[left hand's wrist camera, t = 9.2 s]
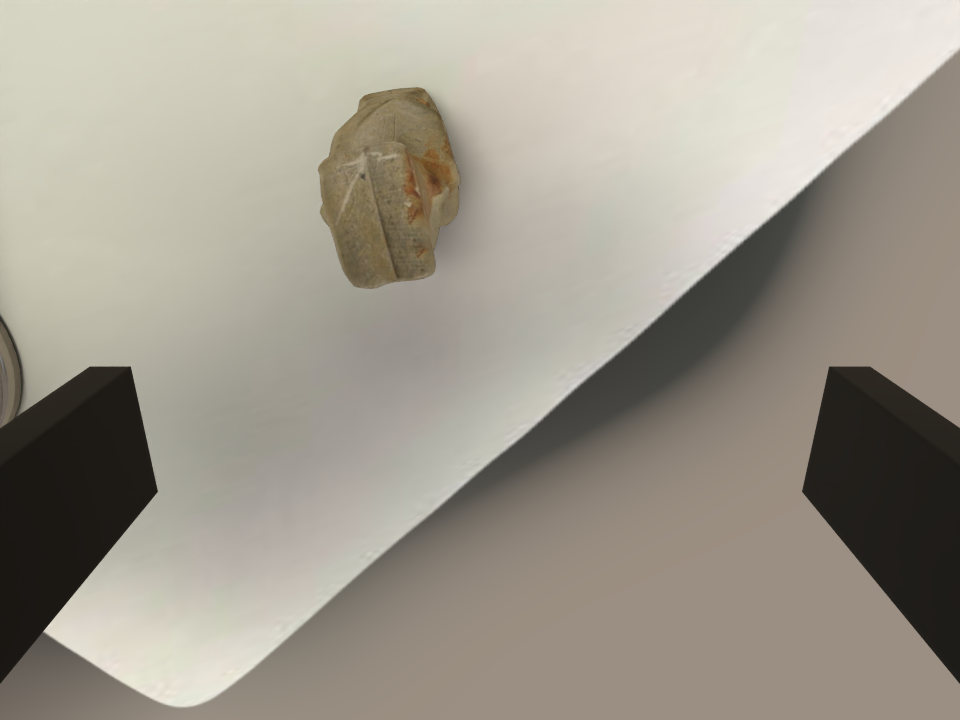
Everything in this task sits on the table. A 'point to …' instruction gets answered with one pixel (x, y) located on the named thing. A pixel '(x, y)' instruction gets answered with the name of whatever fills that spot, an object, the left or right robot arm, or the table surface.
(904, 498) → the left robot arm
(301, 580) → the table surface
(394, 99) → the sculpture
